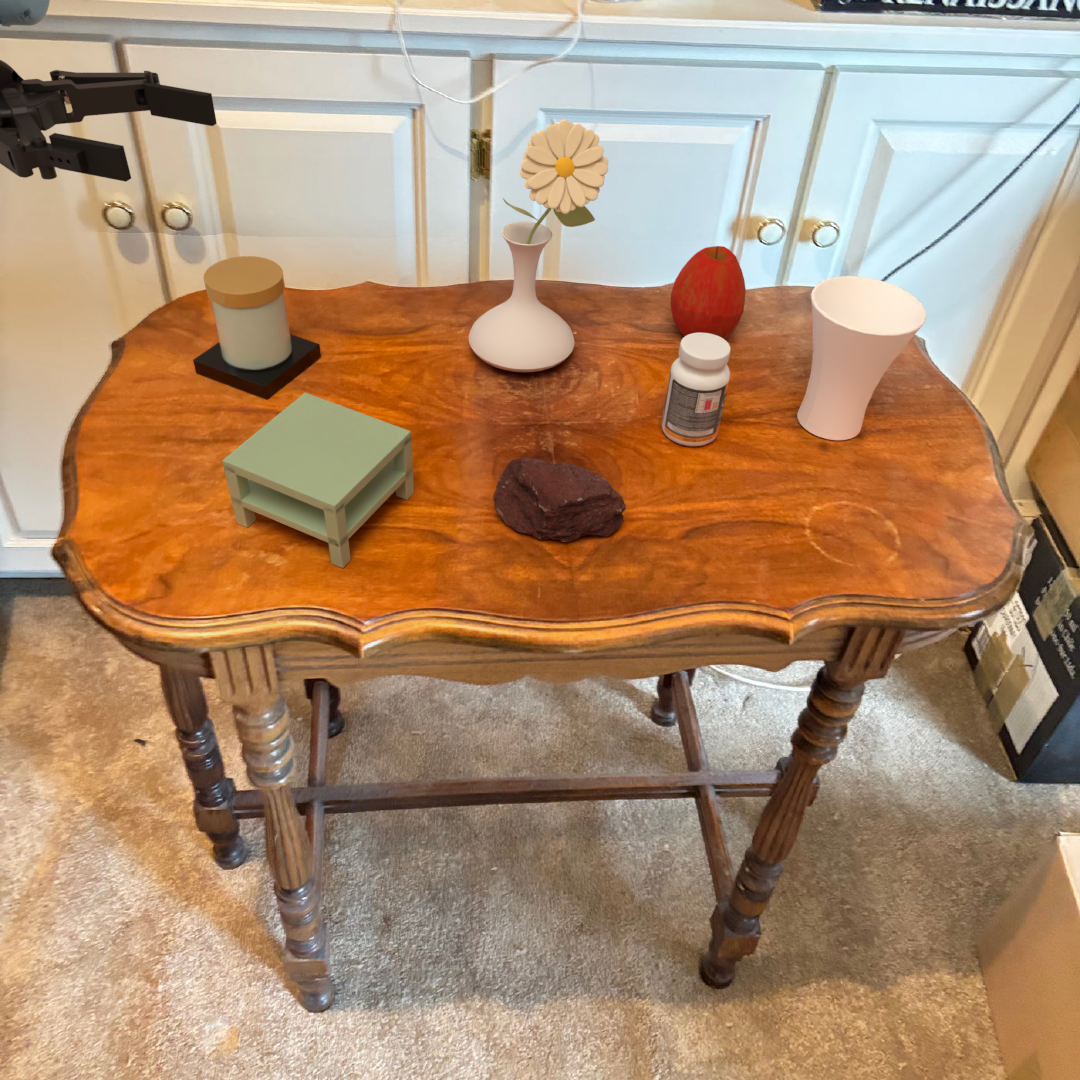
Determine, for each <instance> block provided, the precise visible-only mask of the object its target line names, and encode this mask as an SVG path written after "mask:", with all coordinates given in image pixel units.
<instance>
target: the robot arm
mask: <svg viewBox="0 0 1080 1080" xmlns="http://www.w3.org/2000/svg"><path fill="white" fill-rule="evenodd" d="M50 1H51V0H0V25H1V26H2V27H7V28H9V27H11V26H27V27H29V26H30V27H31V26H35V25H38V24H39V23H41V21H42V20H43V19H45V17H46V15H47V13H48V10H49V6H50ZM49 76H50V79H51V80H42V79H40V78H29V79H28V78H27V79H24V78H22V76H20V75H19V73H18V72H17V71H16V70H15V69H14V68H13V67H12V66H11V65H9V63H7V62H5V61H3V60H2V59H0V165H1V166H3V167H4V168H6V169H7V170H9V171H10V172H11V173H13V174H15V175H16V176H18V177H19V178H23V179H24V178H26V179H27V178H30V177H33V175H34V174H35V173H34V169H37V168H38V169H39V173H40V176H41V179H43V180H54V179H57V177H58V175H57V171H56V168H57V169H58V170H65V171H68V172H69V171H70V172H75V173H80V174H85V175H90V176H95V177H101V178H105V179H109V180H110V179H111V180H115V181H121V182H126V183H127V182H129V181H130V180H131V179H132V175H131V171H130V167H129V163H128V159H127V154H126V151H125V147H124V145H123V144H122V145H121V144H115V143H112V142H111V143H110V142H105V141H99V140H94V139H91V138H90V139H88V138H84V137H79V136H73V135H68V134H63V133H57V132H54V133H52V134H50V135H48V138H49V142H48V141H47V138H46V136H45V135H44V133H43V132H46V131H48V130H50V129H52V128H54V126H55V125H64V124H74V123H82V122H83V120H84V118H85V117H90V116H103V115H112V114H124V113H136V112H148V111H149V112H150V116H152V117H153V116H154V117H160V118H165V119H171V120H176V121H181V122H186V123H187V122H188V123H191V124H198V125H204V126H210V127H214V126H215V125H217V124H218V123H217V118H216V117H217V116H216V112H215V106H214V100H213V94H212V93H211V92H205V91H201V90H200V91H199V90H195V89H188V88H182V87H178V86H177V87H176V86H171V85H165V84H161V82H160V78H159V74H158V73H156V72H153V71H150V70H143V72H74V71H68V70H58V69H54V70H50V71H49ZM66 105H70V107H71V111H70V112H68V110H67V106H66Z"/></svg>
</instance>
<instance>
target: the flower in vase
mask: <svg viewBox="0 0 1080 1080" xmlns="http://www.w3.org/2000/svg"><path fill="white" fill-rule="evenodd" d="M599 143H600V136H599V135H598V134H597V133H595V132H594V130H593V129H587V128H586V127H584V126H583V125H582V124H581V123H575V124H574V123H573V122H571V121H569V120H568V119H561V120H560V121H559V122H556V123H553V124H549V125H547V126H546V129H541V130H539V131H538V132H534V133H533V134H531V136H530V140H529V141H528V144H527V148H526V150H525V152H524V153H523V157H522V158H523V160H522V161H521V163H520V167H521V168H520V170H519V176H520V177H521V178H522V179H524V182H523V184H524V188H526V189H527V190H530V192H529V194H528V195H529V199H530V200H531V201H533V202H536V204H538V205H540V206H541V205H542V206H543V207H544V208H545V209H546V210H545V211H544V212H543V213H542V215H541V216H540V217H539V218H538V219H537V218H536V217H535V216H534V215H533V214H532V213H531V212H529V211H527V210H525V209H523V208H520V207H517V206H515V205H512V204H511V203H509V202H508V201H507V200H506V199H505V198H503V197H502V200H503V201H504V204H506V205H507V206H509V207H510V208H511V209H513V210H515V211H516V212H518V213H519V214H520V213H521V214H523V215H525V216H527V217H529V218H532V219H533V220H536V222H535V221H514V222H511V223H508V224H507V225H505V226H503V228H501V237H502V238H503V239H504V240H505V241H506V243H507V245H508V247H509V249H510V254H511V258H512V265H513V287H512V291H511V295H510V297H509V298H508V299H507V300H505V301H504V302H502V303H499V304H498V305H495V306H494V307H492V308H490V309H488V310H487V311H485V312H484V313H483V314H482V315H480V316H479V317H478V318H477V319H476V320H475V321H474V323H473V324H472V326H471V328H470V330H469V333H468V343H469V346H470V347H471V349H472V351H473V352H474V353H475V355H476V356H477V357H478V358H479V359H481V361H483V362H484V363H486V364H488V365H490V366H492V367H494V368H497V369H500V370H503V371H508V372H515V373H533V372H534V373H535V372H541V371H545V370H549V369H552V368H555V367H556V366H558V365H560V364H562V363H563V362H564V361H565V360H566V359H567V358H568V357H570V355H571V353H572V352H573V351H574V349H575V343H576V341H575V337H574V334H573V331H572V328H571V327H570V325H569V324H568V323H567V322H566V321H565V320H564V319H563V318H562V317H561V316H560V314H557V312H555V311H554V310H552V309H551V308H549V307H547V306H546V305H544V304H543V303H541V302H540V301H539V299H538V296H537V292H536V278H537V271H538V264H539V261H540V258H541V254H542V252H543V250H544V248H545V247H546V245H547V244H548V243H549V242H550V241H551V240H552V237H553V232H552V230H551V228H549V227H547V226H546V225H544V224H542V222H543V221H544V220H545V218H546V217H547V216H548V215H549V213H550V212H551V210H553V213H554V215H555V216H556V218H557V219H558V221H559V222H560V223H561V224H562V225H563V226H565V227H569V228H573V227H574V228H575V227H579V226H585V225H587V224H590V223H592V222H595V221H596V219H595V217H594V215H593V214H592V212H591V211H590V210H589V209H588V207H586V205H587V204H589V203H591V202H594V201H596V200H597V199H598V198H599V193H600V191H601V189H600V188H601V187H603V186H604V184H605V178H606V177H605V175H606V174H607V173H608V171H609V159H608V158H607V157H605V156H604V152H605V149H604V147H603V146H602V145H601V144H599Z"/></svg>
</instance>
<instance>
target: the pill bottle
mask: <svg viewBox="0 0 1080 1080" xmlns="http://www.w3.org/2000/svg"><path fill="white" fill-rule="evenodd" d="M731 351H732V349H731V345H730V343H729V342H728V341H727V340H726V339H725V338H724V339H723V338H721V337H719V336H717V335H714V334H710V333H692V334H689V335H687V336H684V337H682V338H681V340H680V343H679V348H678V353H677V354H678V357H677V358H676V359H675V360H674V361H673V363H672V364H671V366H670V370H669V376H668V383H667V389H666V394H665V399H664V404H663V405H664V406H663V411H662V418H661V429H662V431H663V434H664V435H665V436H666V437H667V438H668V439H669V440H671V441H672V442H674V443H676V444H677V445H678V444H679V445H682V446H685V447H702V446H706V445H708V444H710V443H712V442H713V441H714V440H715V439H716V438H717V436H718V433H719V430H720V426H721V421H722V417H723V412H724V407H725V402H726V399H727V393H728V388H729V384H730V380H731V370H730V368H729V366H728V363H729V360H730V357H731Z"/></svg>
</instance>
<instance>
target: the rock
mask: <svg viewBox="0 0 1080 1080" xmlns="http://www.w3.org/2000/svg"><path fill="white" fill-rule="evenodd" d="M495 487H496V488H495V490H494V493H493V497H492V498H493V503H494V506H495V510H496V513H497V514H498V517H500V519H501V520H502V521H503V522H504V523H505V525H507V526H508V527H510V528H511V529H512V530H514V531H515V532H519V533H521V534H524V535H530V536H532V537H534V538H536V539H539V540H547V539H552V540H559V541H561V542H564V543H572V542H573V541H574V540H578V539H580V538H581V537H583V536H589V535H590V536H600V537H606V538H607V537H610V536H611V535H612V534H613V533H615V532H616V531H618V529H620V527H621V526H622V524H623V523H624V521H625V520H624V514H623V513H624V512H625V511H626V507H627V505H626V503H625V500H624V498H623V496H622V495H621V494H620V493H619V492H618V491H617V490H616V489H614V488H613V486H612V485H611V484H610V482H609V480H607V479H606V478H604V477H603V476H601V475H600V474H598V473H596V472H593V471H591V470H590V469H588V468H587V467H581V466H577V465H576V464H572V463H568V462H565V461H559V462H557V463H552V462H548V461H545V460H542V459H538V458H533V457H518V458H514V459H511V460H510V461H509V462H508V463H507V465H506V466H505V468H504V470H503V471H502V473H501V475H500V477H499V478H498V481H497V483H496V486H495Z"/></svg>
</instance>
